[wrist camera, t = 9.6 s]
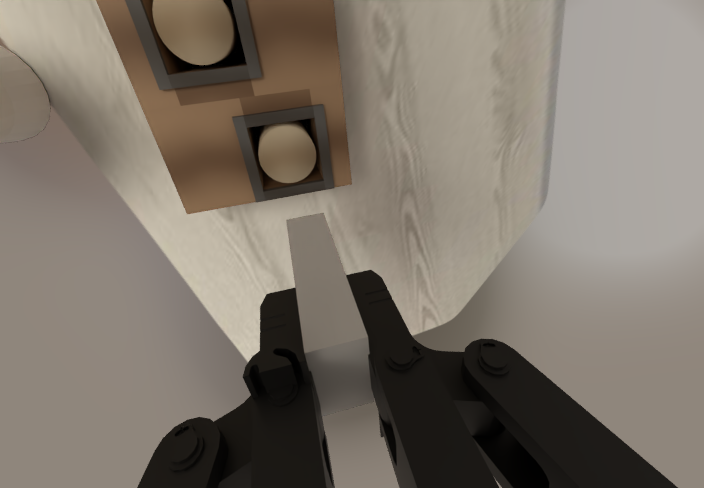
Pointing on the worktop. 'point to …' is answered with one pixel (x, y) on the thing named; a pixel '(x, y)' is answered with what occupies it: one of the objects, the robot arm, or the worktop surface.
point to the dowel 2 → (286, 151)
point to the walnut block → (239, 99)
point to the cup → (20, 100)
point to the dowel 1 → (197, 29)
